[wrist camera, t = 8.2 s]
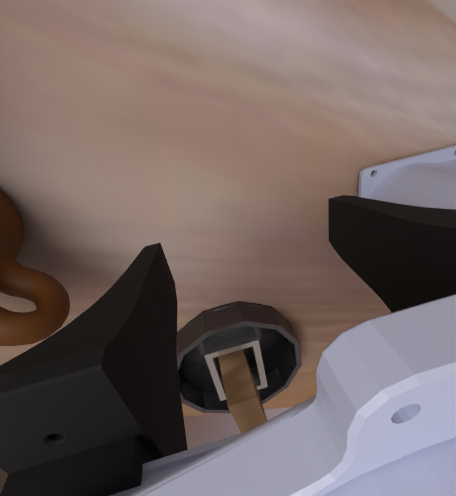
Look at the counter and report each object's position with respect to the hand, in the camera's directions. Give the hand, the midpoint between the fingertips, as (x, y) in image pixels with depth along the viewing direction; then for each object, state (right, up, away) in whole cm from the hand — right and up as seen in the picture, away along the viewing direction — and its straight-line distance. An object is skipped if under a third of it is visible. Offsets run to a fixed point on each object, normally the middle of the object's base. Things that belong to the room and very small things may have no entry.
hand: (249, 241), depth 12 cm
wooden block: (0, -11, +17) cm, 20 cm away
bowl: (0, -11, +18) cm, 21 cm away
